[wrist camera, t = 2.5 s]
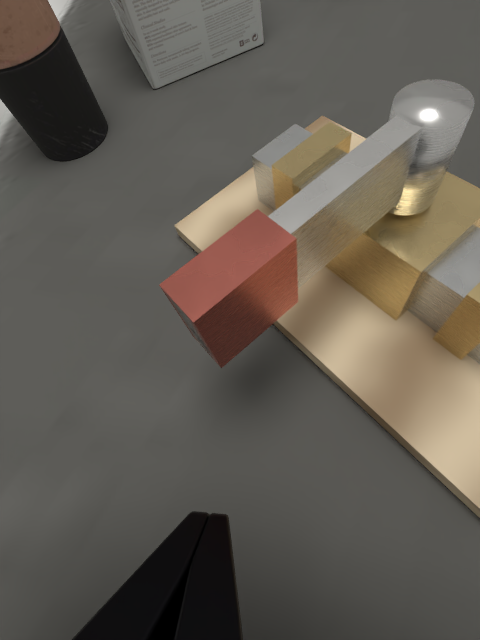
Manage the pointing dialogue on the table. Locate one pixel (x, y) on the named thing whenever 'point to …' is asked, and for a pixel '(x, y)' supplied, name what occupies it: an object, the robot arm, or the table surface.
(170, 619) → the robot arm
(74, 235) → the table surface
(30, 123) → the travel mug
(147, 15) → the supplement box
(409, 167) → the lever
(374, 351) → the oak board
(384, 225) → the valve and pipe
